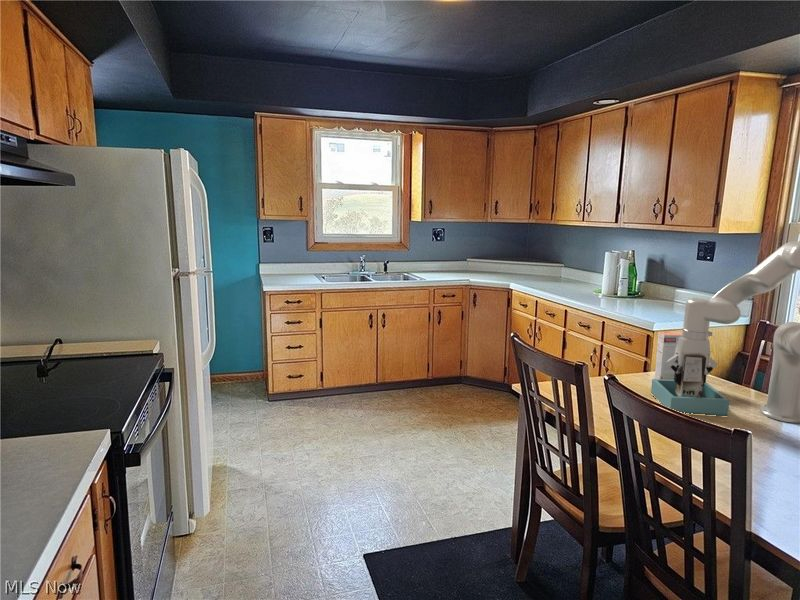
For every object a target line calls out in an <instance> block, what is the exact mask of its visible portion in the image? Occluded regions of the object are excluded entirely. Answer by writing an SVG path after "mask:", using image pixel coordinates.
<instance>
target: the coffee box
mask: <svg viewBox="0 0 800 600" xmlns="http://www.w3.org/2000/svg"><path fill="white" fill-rule="evenodd" d="M705 365H706V357H705V356H700V355H691V356H690V355H685V357H684V364H683V367H682V371H681V372H680V374H681V375H682V376H681V384H680V385H678V384H676V394H677V395H678V397H699V398H701V396H702V389H703V380H704V373H705Z"/></svg>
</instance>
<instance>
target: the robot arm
mask: <svg viewBox="0 0 800 600" xmlns="http://www.w3.org/2000/svg"><path fill="white" fill-rule="evenodd" d="M798 271H800V241H799V240H795V241H789V242H786V243H784V244H783V245H781V246H780V247H778V248H777V249H776V250H775V251H774V252H772V254H770V255H768V257H766V258H765V259H764V260H763V261H761V262H760V263H759V264H758V265H756V266H755V267H754V268H752V270H750V271H749V272H747V273H746V274H743V275H742V276H740V277H738V278H737V279H734V281H731V282H729V283H728V284H727V285H725V286H724V287H723V288H721V289H720V290H719V291H718V292H717V293H715V294H714V295H713V296H712V297H711V298H710V299H709V300H708V299H705V298H696V297H695V298H689V299H687V300H686V302H685V306H684V307H685V308H684V317H683V324H682V325H683V327H682V332H683V333H682V337H679V339H678V342H677V346H676V350H675V354H674V356H673V357H672V358H670V359H668V360H667V361H666V362H667V363H668V365H669V366H670V367H671V368H672V369H673V370H674V371H675V374H674V381H675V383H676V384H678V385H680V384H681V376H682V375H681V374H680V372H681V371H682V367H683V364H684V357H685V355H690V356H691V355H700V356H705V357H706V365H705V373H704V380H703V386H704V383H707V382H706V380H707V376H708V375H709V373H711V372H712V371H713V370H714V369H715V368H716V367H717V366H718V363H717V361H715V360H714V359H712V358H711V344H710V343H711V342H710V340H709V337H712V336H713V332H712V331H710V330H709V328H710V322H711V323H716V324H722V325H731V324H734V323H736V322H737V321H739V319H740V317H741V309H740V308H739V305H740V304H741V303H742V302H744V301H746V300H747V299H749V298H751V297H753V296H756V295H761V294H765V293H769V292H771V291H773V290H775V289H776V288H778V287H779V286H780V285H781V284H782V283H784V282H785V281H786V280H788V278H790V277H791V276H793V274H795V273H797V272H798ZM798 313H799V315H800V306H799V307H798ZM772 341H773V343H772V344H773V356H772V364H771V365H772V366H771V371H770V379H769V385H768V390H767V391H768V392H767V399H766V404H764V405H763V404H762V405H760V407H759V412H760V413H761V414H762V415H764V416H766V417H768V418H771V419H773V420H776V421H781V422H785V423H793V424H800V322H796V321H787V322H785V323H782V324H781V325H779V326H778V327H777V328H776V329H775V331H774V334H773V340H772ZM673 362H675V363H677V365H676V366H674V365H673Z"/></svg>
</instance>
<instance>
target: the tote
mask: <svg viewBox="0 0 800 600" xmlns="http://www.w3.org/2000/svg"><path fill="white" fill-rule="evenodd" d="M650 390H651V391H650V394H651V393H652V394H653V395H654V396H655V397H656V398H657V399H658V400H659V402H661V403H660V404H662V405H664V406H666V407H669V408H671V409H674V410H676V411H679V412H682V413H684V412H685V414H686V413H689V414H691V413H693V414H705V415H716V416H728V415H729V410H730V409H729V407H730V402H731V401H730V399H729V398H728V397H726V396H725V395H723V394H722V393H721V392H720V391H718V390H717V389H716V388H714V387H713V386H711V385H710V384H709V383H708V382H706V383H704V386H703V389H702V396H701V398H699V397H678V395H677V394H676V383H675V381H674V380H665V379H655V378H652V379H651V388H650ZM659 402H658V403H659ZM728 417H729V416H728Z"/></svg>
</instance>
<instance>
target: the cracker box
mask: <svg viewBox="0 0 800 600" xmlns="http://www.w3.org/2000/svg"><path fill="white" fill-rule="evenodd" d="M682 333H683V331H658V334H657V336H658V337H657V344H656V345H657V349H656V356H655V359H656V360H655V370H654V371H655V372H654V379H665V380H674V374H675V371H674V370H673V369H672V368H671V367H670V366H669V365H668V363H667V362H666V361H667V360H668V359H670V358H672V357H673V356H674V354H675V350H676V346H677V342H678V339H679V337H682ZM673 365H674V366H676V365H677V363H675V362H673Z"/></svg>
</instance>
